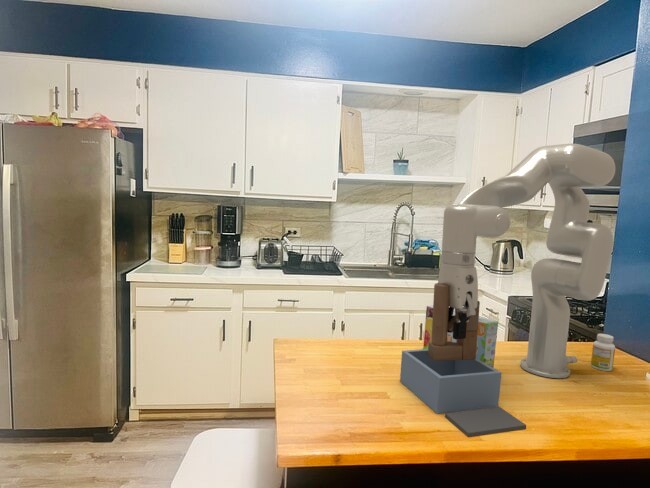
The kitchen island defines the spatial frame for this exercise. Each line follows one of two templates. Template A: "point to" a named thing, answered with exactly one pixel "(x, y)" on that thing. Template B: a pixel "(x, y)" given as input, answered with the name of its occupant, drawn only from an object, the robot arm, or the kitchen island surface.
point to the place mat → (484, 421)
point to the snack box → (484, 337)
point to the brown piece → (439, 345)
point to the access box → (450, 382)
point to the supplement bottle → (603, 353)
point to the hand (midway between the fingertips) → (453, 334)
